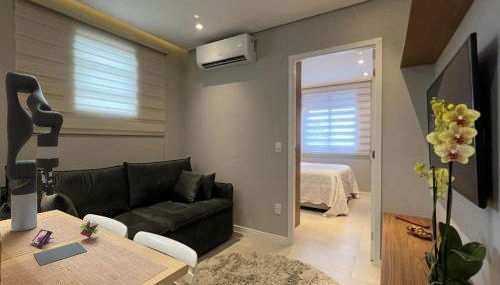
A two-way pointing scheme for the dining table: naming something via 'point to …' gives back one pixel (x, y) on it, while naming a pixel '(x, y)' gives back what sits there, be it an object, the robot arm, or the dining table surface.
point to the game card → (42, 239)
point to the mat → (59, 253)
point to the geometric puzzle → (89, 228)
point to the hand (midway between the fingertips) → (47, 193)
